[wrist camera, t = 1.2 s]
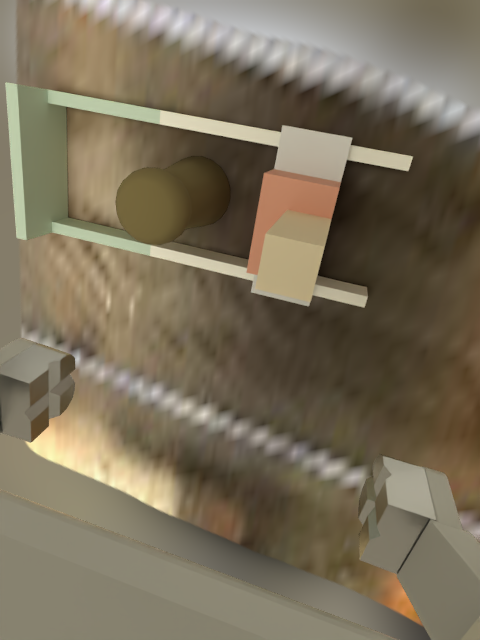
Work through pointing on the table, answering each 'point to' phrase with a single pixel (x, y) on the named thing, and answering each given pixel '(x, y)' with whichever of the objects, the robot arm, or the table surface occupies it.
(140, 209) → the olive rounded upright piece
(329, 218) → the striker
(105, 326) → the table surface
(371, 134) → the table surface
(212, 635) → the robot arm
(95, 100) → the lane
